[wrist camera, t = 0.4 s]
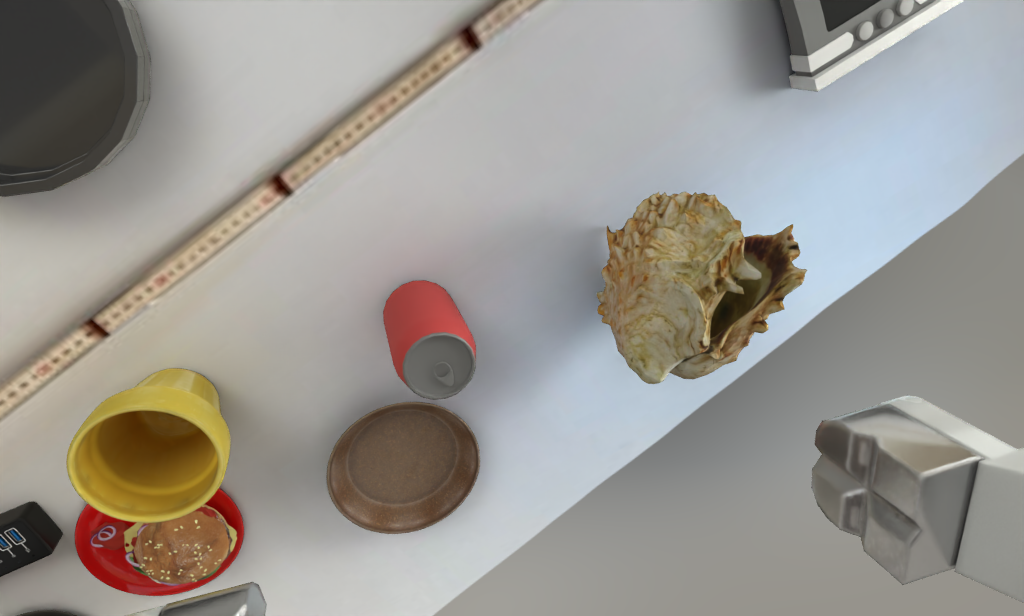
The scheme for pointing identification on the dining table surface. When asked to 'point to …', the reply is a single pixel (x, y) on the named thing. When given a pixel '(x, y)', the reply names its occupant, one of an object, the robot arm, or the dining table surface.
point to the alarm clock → (848, 33)
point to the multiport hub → (26, 537)
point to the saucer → (403, 467)
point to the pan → (67, 89)
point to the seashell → (691, 285)
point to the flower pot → (152, 449)
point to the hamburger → (161, 548)
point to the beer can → (429, 340)
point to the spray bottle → (46, 613)
